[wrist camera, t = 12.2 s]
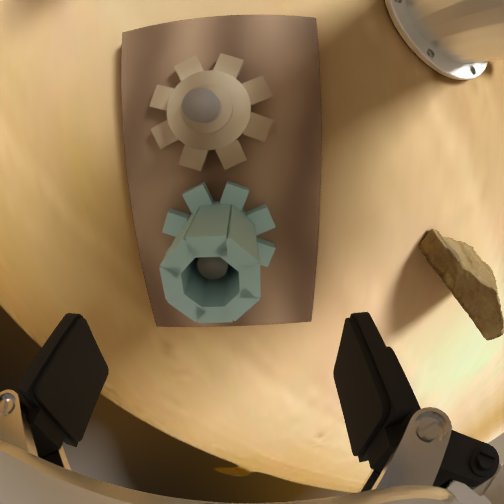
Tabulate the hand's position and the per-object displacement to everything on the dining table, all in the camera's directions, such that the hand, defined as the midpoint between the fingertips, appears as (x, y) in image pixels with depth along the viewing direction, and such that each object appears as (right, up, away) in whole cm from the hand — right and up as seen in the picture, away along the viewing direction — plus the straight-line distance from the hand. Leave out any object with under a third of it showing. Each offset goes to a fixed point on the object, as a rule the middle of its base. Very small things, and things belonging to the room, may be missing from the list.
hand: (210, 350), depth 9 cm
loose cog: (-1, +5, +12) cm, 13 cm away
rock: (+23, +3, +15) cm, 27 cm away
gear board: (-1, +9, +12) cm, 15 cm away
